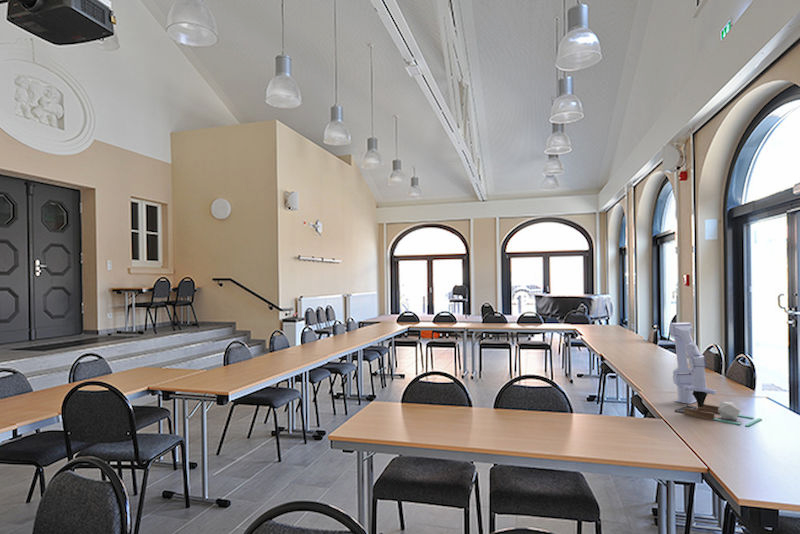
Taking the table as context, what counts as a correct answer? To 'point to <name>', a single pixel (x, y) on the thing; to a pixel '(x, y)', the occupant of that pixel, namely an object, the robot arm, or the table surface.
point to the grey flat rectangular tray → (683, 408)
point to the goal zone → (740, 423)
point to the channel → (702, 413)
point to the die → (728, 410)
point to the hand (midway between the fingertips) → (701, 406)
